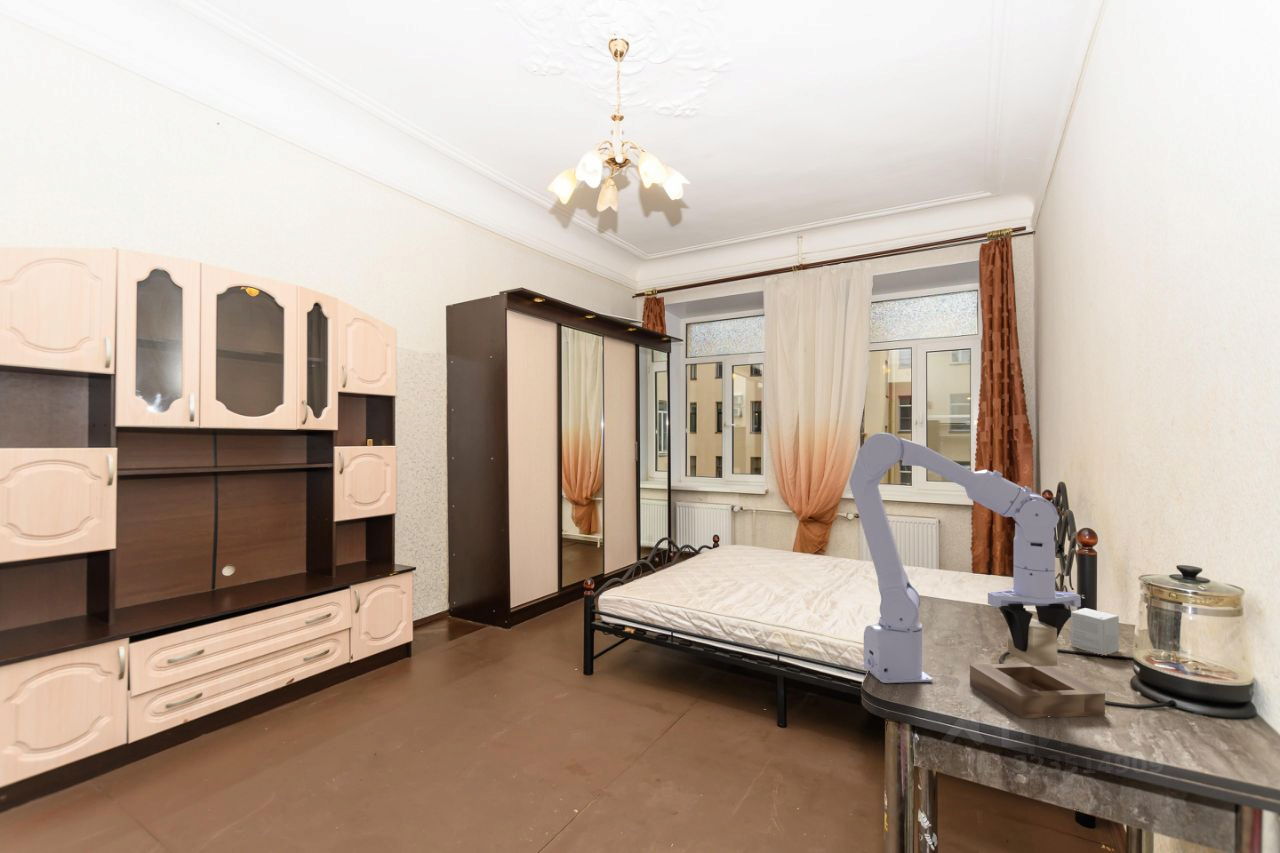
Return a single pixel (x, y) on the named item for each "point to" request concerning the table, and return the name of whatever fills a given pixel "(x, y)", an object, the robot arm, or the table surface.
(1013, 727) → the table surface
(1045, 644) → the beige wooden block
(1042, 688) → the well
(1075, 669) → the table surface
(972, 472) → the robot arm
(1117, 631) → the product box
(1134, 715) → the table surface
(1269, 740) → the table surface
